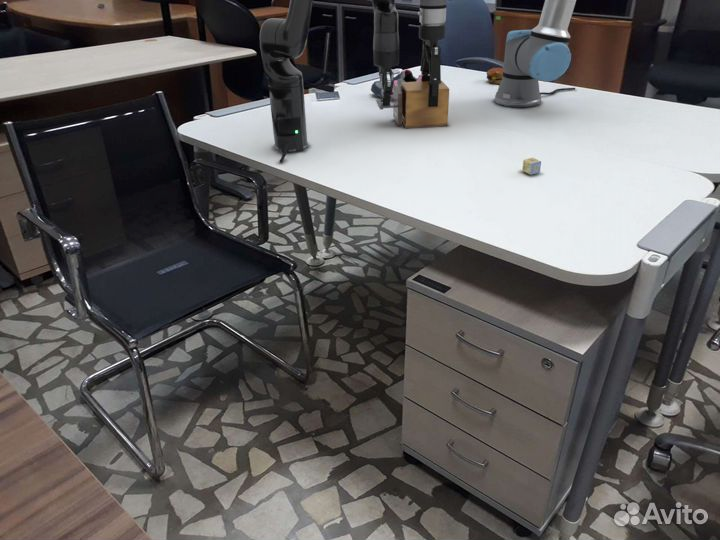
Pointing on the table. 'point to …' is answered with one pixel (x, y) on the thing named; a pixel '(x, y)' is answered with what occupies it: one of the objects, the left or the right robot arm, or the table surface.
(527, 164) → the alphabet block
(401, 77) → the running shoe
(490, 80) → the burger
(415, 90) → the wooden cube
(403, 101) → the drawer
